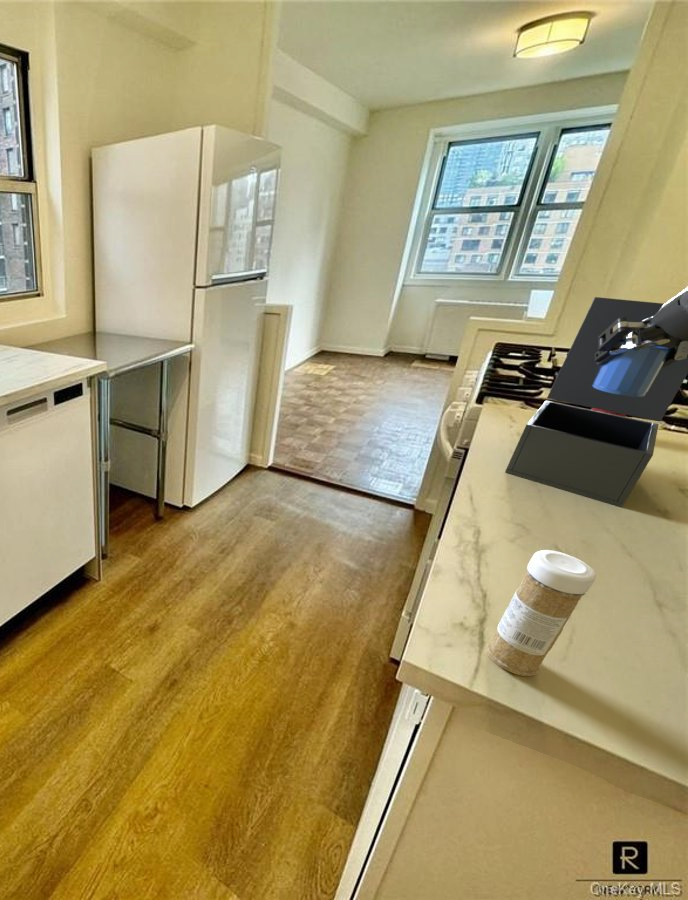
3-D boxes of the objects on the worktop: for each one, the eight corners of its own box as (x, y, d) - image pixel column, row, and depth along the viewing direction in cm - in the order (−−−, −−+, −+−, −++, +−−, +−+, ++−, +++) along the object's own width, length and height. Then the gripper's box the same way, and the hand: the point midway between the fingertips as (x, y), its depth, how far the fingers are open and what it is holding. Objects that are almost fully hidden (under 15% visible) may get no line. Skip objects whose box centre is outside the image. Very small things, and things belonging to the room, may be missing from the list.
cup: (642, 389, 82) (668, 343, 78) (647, 399, 77) (675, 350, 74) (590, 381, 85) (613, 336, 82) (593, 390, 81) (617, 343, 77)
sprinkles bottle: (543, 664, 52) (603, 567, 46) (528, 685, 50) (590, 586, 44) (492, 636, 55) (543, 542, 49) (476, 655, 53) (527, 558, 47)
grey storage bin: (621, 507, 80) (653, 454, 75) (504, 472, 90) (526, 424, 86) (630, 471, 91) (658, 423, 86) (525, 444, 101) (545, 400, 97)
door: (724, 309, 79) (723, 309, 80) (594, 297, 90) (595, 297, 90) (660, 421, 86) (660, 421, 86) (546, 398, 96) (547, 398, 97)
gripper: (789, 281, 64) (679, 347, 80) (649, 275, 69) (571, 339, 84) (797, 329, 62) (683, 388, 78) (653, 320, 67) (572, 377, 82)
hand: (625, 362), depth 81 cm, fingers closed on cup, 6 cm apart
